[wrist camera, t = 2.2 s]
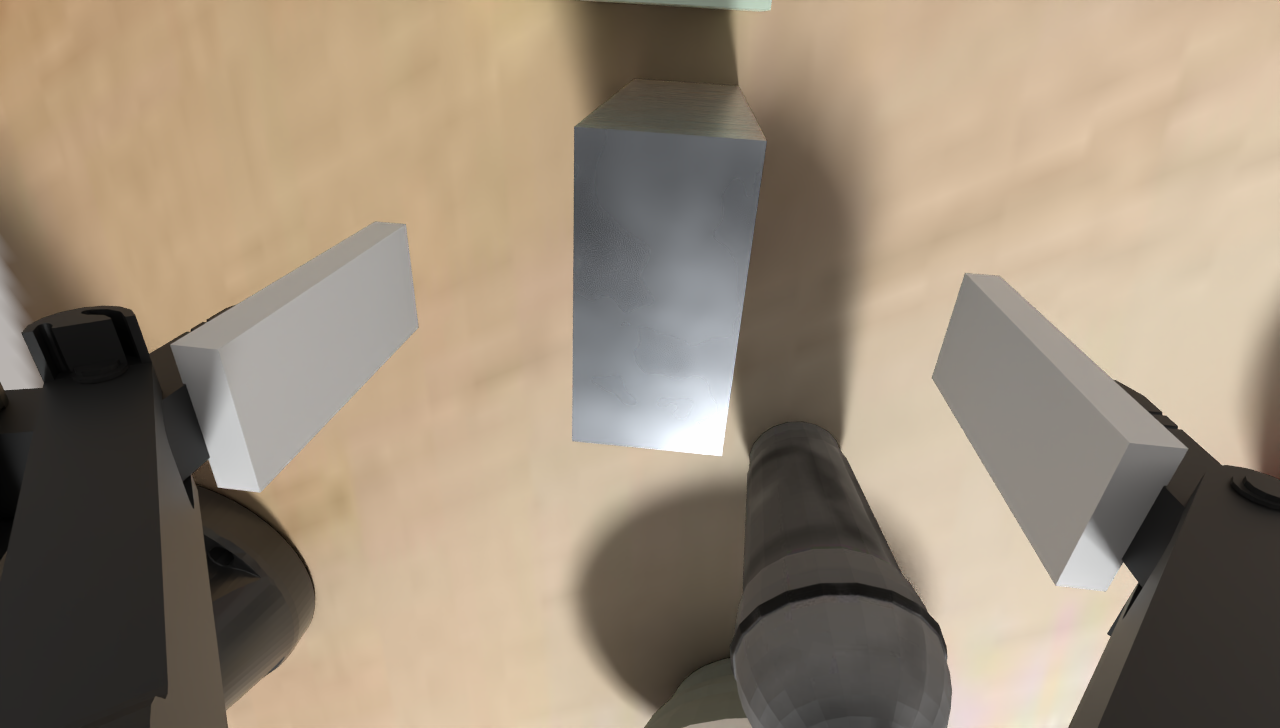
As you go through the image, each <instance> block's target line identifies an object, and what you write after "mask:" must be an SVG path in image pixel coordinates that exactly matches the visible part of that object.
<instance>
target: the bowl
mask: <svg viewBox="0 0 1280 728" xmlns="http://www.w3.org/2000/svg"><path fill="white" fill-rule="evenodd" d="M644 728H752V726H751V725H750V723H749V721H748V719H747V716H746V714H745V712H744V710H743V708H742V704H741V701H740V698H739V694H738V688H737V681H736V679H735V678H734V675H733V672H732V669H731V658H728V659H723V660H719V661H716V662H714V663H711V664H708V665H706V666H704V667H702V668H700V669H698V670H697V671H695V672H693V673H692V674H691V675H690V676H688V677H687V678H686V679H685V680H684V681H683V682H682V683H681V685H680V686H679V688H678V689H677V690H676V692H675V693H674V695H673V696H672V698H671V699H670V700H669V701H668V702H667V703H666V704H664V705H663V706H662V707H661V708H660V709H659V710H658V711H657V712H656V713H655V714H654V715H653V716H652V718H651V719H650V720H649V722H648V723H647V725H646V726H645V727H644Z"/></svg>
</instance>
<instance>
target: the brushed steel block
mask: <svg viewBox="0 0 1280 728" xmlns="http://www.w3.org/2000/svg"><path fill="white" fill-rule="evenodd" d="M766 144H767V140H766V138H765V136H764V134H763V132H762V130H761V128H760V126H759V124H758V122H757V120H756V119H755V117H754V115H753V113H752V111H751V109H750V107H749V105H748V103H747V101H746V99H745V97H744V95H743V93H742V91H741V89H740V87H739V86H736V85H721V84H707V83H692V82H678V81H663V80H649V79H633V80H632V81H631V82H629V83H628V84H627V85H626V86H624V87H623V88H622V89H621V90H619V91H618V92H617V93H616V94H614V95H613V96H612V97H611V98H610V99H608V100H607V101H606V102H605V103H603V104H602V105H601V106H600V107H598V108H597V109H596V110H595V111H593V112H592V113H591V114H590V115H588V116H587V117H586V118H585V119H583V120H582V121H581V122H580V123H578V124H577V125H576V126H575V127H574V263H573V413H572V441H577V442H587V443H597V444H607V445H617V446H627V447H637V448H647V449H657V450H667V451H677V452H687V453H697V454H708V455H718V456H722V449H723V442H724V436H725V429H726V422H727V415H728V408H729V401H730V394H731V387H732V380H733V373H734V366H735V359H736V352H737V345H738V338H739V331H740V324H741V317H742V310H743V303H744V297H745V290H746V283H747V276H748V269H749V262H750V255H751V248H752V241H753V234H754V227H755V220H756V213H757V206H758V199H759V192H760V185H761V178H762V171H763V165H764V158H765V151H766Z"/></svg>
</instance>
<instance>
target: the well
mask: <svg viewBox="0 0 1280 728" xmlns="http://www.w3.org/2000/svg"><path fill="white" fill-rule="evenodd" d="M582 1H598V2H614V3H630V4H646V5H662V6H678V7H694V8H710V9H726V10H742V11H758V12H763V11H769V10H771V3H772V0H582Z"/></svg>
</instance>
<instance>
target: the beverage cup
mask: <svg viewBox="0 0 1280 728" xmlns="http://www.w3.org/2000/svg"><path fill="white" fill-rule="evenodd" d="M730 657H731V669H732V672H733V675H734V678H735V679H736V681H737V688H738V694H739V698H740V701H741V704H742V708H743V710H744V712H745V714H746V716H747V719H748V721H749V723H750V725H751V726H752V728H947V725H948V720H949V714H950V709H951V696H952V688H951V679H950V672H949V669H948V665H947V647H946V644H945V641H944V638H943V635H942V632H941V629H940V626H939V624H938V623H937V622H936V621H935V620H934V619H933V618H932V617H931V616H930V615H929V614H928V612H927V609H926V607H925V605H924V604H923V602H922V601H921V599H920V598H919V596H918V595H917V593H916V592H915V590H914V589H913V587H912V586H911V584H910V583H909V582H908V581H907V580H906V579H905V578H904V576H903V575H902V573H901V571H900V569H899V567H898V565H897V563H896V561H895V559H894V556H893V554H892V552H891V550H890V548H889V546H888V544H887V542H886V540H885V538H884V536H883V533H882V531H881V529H880V527H879V525H878V523H877V521H876V519H875V517H874V515H873V513H872V511H871V508H870V506H869V504H868V502H867V500H866V498H865V496H864V494H863V492H862V490H861V488H860V485H859V483H858V481H857V479H856V477H855V475H854V473H853V471H852V469H851V467H850V465H849V463H848V460H847V458H846V457H845V456H844V455H843V453H842V452H841V450H840V448H839V446H838V444H837V441H836V440H835V439H834V438H833V436H832V435H831V434H830V433H829V432H828V431H826V430H824V429H823V428H821V427H819V426H817V425H814V424H810V423H805V422H787V423H784V424H781V425H778V426H774V427H772V428H771V429H769V430H768V431H766V432H765V433H763V434H762V435H761V436H760V437H759V438H758V439H757V441H756V442H755V443H754V445H753V447H752V450H751V453H750V464H749V471H748V474H747V499H746V524H745V548H744V573H743V595H742V598H741V600H740V603H739V607H738V613H737V618H736V624H735V635H734V637H733V640H732V642H731V645H730Z"/></svg>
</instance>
